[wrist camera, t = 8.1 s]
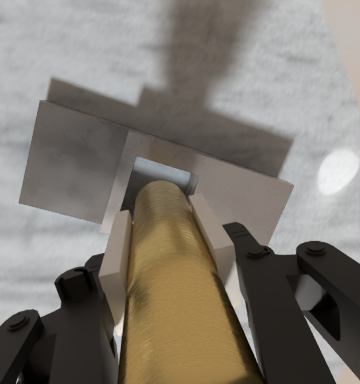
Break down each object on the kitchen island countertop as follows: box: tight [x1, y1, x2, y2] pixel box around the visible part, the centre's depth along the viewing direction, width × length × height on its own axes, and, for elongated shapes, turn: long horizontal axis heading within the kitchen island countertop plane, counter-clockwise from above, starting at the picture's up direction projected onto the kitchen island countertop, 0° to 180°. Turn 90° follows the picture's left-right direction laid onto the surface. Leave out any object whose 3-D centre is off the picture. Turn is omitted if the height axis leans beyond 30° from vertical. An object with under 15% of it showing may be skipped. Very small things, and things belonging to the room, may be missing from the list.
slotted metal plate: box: [19, 100, 294, 246], centre depth 23 cm, size 20×8×3 cm, turn 71°
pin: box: [117, 180, 266, 384], centre depth 13 cm, size 4×4×15 cm
